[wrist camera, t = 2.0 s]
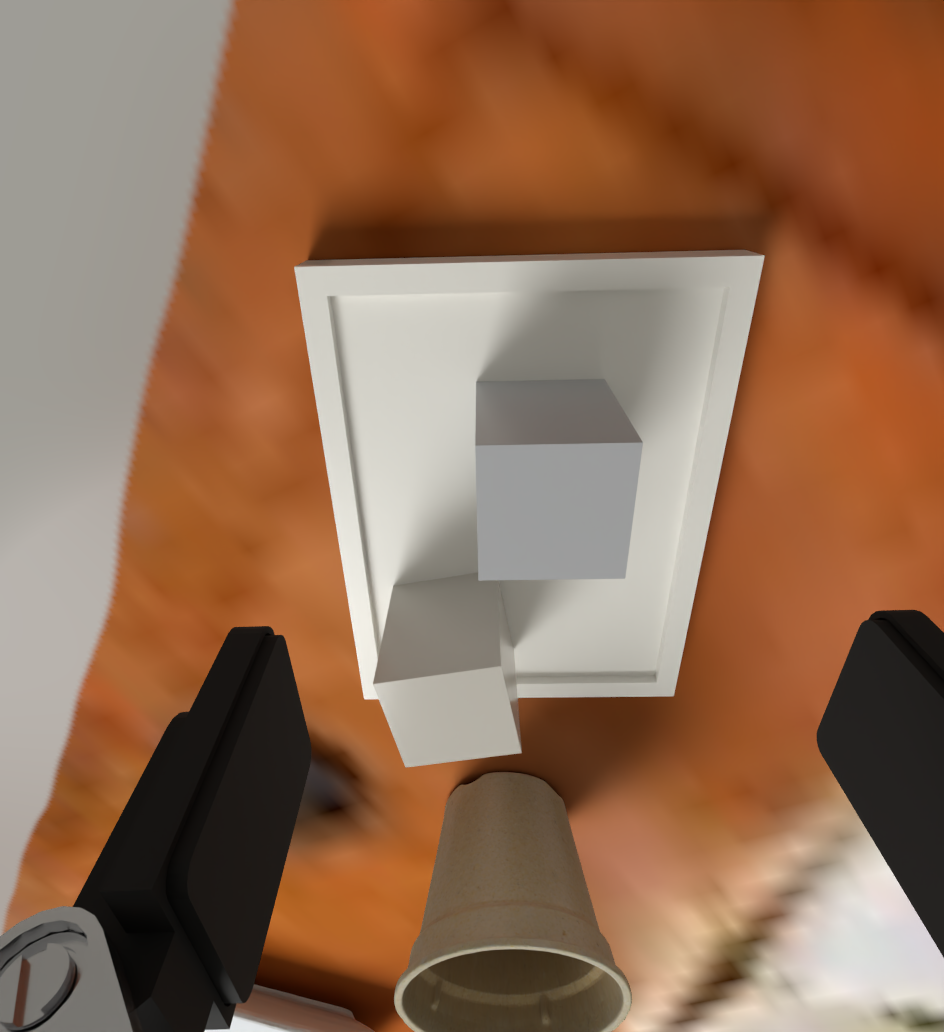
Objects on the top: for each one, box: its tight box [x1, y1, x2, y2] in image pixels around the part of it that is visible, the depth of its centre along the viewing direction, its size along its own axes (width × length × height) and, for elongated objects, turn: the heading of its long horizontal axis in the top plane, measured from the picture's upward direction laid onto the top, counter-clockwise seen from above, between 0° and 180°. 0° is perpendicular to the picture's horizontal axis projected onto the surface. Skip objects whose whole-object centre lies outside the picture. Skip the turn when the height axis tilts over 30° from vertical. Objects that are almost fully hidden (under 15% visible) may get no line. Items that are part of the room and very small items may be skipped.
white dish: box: [294, 250, 765, 699], centre depth 21 cm, size 13×17×1 cm
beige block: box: [373, 573, 522, 767], centre depth 21 cm, size 4×4×5 cm
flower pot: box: [394, 772, 632, 1032], centre depth 27 cm, size 9×9×9 cm
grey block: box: [475, 379, 643, 581], centre depth 17 cm, size 4×4×5 cm
